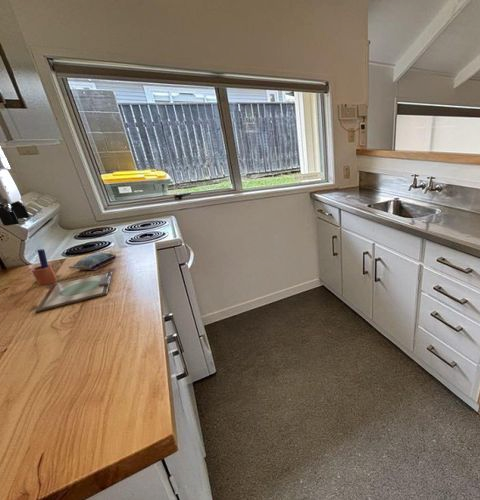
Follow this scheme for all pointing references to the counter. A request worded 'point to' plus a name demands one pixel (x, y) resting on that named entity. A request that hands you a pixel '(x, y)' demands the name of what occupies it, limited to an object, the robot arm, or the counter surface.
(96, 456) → the counter surface
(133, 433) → the counter surface
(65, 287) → the clipboard
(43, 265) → the pen
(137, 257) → the counter surface
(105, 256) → the packaged food
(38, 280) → the pen cup
